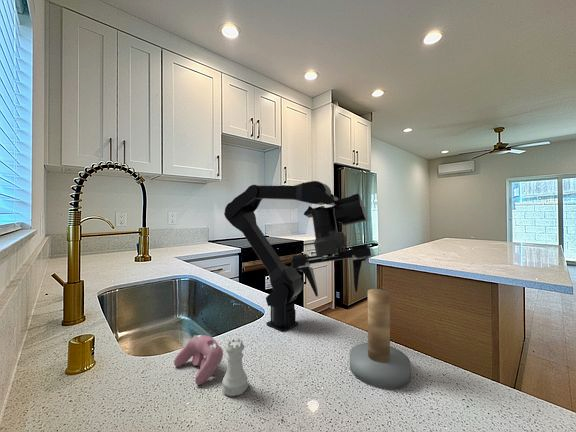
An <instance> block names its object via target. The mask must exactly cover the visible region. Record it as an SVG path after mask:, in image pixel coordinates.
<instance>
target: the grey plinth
mask: <svg viewBox="0 0 576 432" xmlns="http://www.w3.org/2000/svg"><path fill="white" fill-rule="evenodd" d="M411 367H412V363H411V360H410V358H409V357H408V355H407V354H406V353H405V352H403V351H402V350H400V349H397V348H396V347H394V346H391V345H390V361H388V362H385V363H380V362H376V361H373V360H371V359H370V358H369V357H368V342H362V343H359V344H356V345H354V346H353V347H351V349H350V351H349V370H350V371H351V373H352V374H353V376H354V377H355V378H356V379H357V380H359V381H361V382H362V383H365V385H369V386H371V387H374V388H377V389H383V390H398V389H402V388H404V387H406V386H407V385H409V384H410V382H411V379H412V368H411Z"/></svg>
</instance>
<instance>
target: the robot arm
mask: <svg viewBox="0 0 576 432" xmlns="http://www.w3.org/2000/svg"><path fill="white" fill-rule="evenodd" d="M263 200H289V201H290V200H293V201H299V202H303V203H307V204H311V205H319V206H317V207H312V206H310V205H309V206H308V207H307V209H306V210H305V212H303V215H304V216H305V217H307V218H312V225H313V230H314V237H315V240H314V241H313V244H314V250H315V255H309V254H307V253H304V254H303V253H302V254H296V255H292V257H291V258H290V266H288V265H286V264H285V263H284V262H283V261H282V259H281V258H280V256H279V255H278V253H277V252H276V250H275V249H274V247H273V246H272V245H271V243H270V242H269V240H268V239H267V237H266V236H265V235H264V233H263V232H262V230H261V229H260V227H259V225H258V223H257V217H256V214H255V211H256V210H257V209H258V208H259V206H260V204H261V202H262V201H263ZM324 205H329V206H327V207H325V206H324ZM223 214H224V218H225V219H226V220H227V221H228V222H229V224H230V225H232V227H234V228H236V230H238V231H240V232H241V233H242V234H243V235H244V237H245V239H246V240H247V242H248V244H250V246H251V248H252V249H253V251H254V252H255V254H256V255H257V257H258V259H259V260H260V261H261V263H262V264H263V266H264V267H265V269H266V271H267V272H268V274H269V281H270V287H271V288H272V291H271V292H270V293H269V294H268V295H267V296H266V297H265V301H266V304H267V306H269V307H270V320H269V321H267V322H266V323H265V324H266V325H267V326H269V327H271V328H273V329H275V330H278V331H281V332H285V331H288V330H289V329H291V328H293V327H295V326H297V325H299V321H297V320H296V319H297V318H296V309H295V308H296V307H295V302H294V300H296V299H297V298H298V297H297V296H298V295H299V294H300V293H301V292H302V291H303V287H304V286H303V285H304V283H303V279H302V277H303V276H302V275H301V274H300V273H299V272H302V273H303V274H304V276H305V277H306V279H307V281H308V282H309V285H310V287H311V289H312V290H313V294H314V295H315V297H316V298H317V297H319V289H318V285H317V281H316V277H315V272H314V268H313V267H311V265H313V264H319V263H320V264H321V263H326V262H327V263H328V262H334V261H341V260H348V259H352V267H353V268H352V269H353V271H352V272H353V285H354V291H355V293H357V292H358V290H359V289H358V287H359V278H360V276H359V275H360V272H361V267H362V264H365V263H366V262H367V260H368V259H371V257H372V252H371V248H370V246H369V245H368V244H361V245H353V246H351V250H343V251H342V248H345V247H347V243H346V240H345V239H346V238H345V235H344V231H338V226H337V223H338V224H340V223H341V224H342V226H343V227H345V226H349V225H353V224H358V223H363V222H367V221H368V216H367V210H366V207H365V206H364V203H363V200H362V197H361V195H360V193H355V194H352V195H350V196H347V197H344V198H338V197H337V196H335V195H334V194H332V190H331V188H330V187H329V185H327V184H325V183H323V182H321V181H319V180H318V181H317V180H312V181H305V182H302V183H299V184H294V185H258V184H251V185H249V186H248V187H247V188H246V190H245V191H243V192H242V193H240V194H238V195H237V196H236V197H234V198H233V199H232V201H231V202H228V204H226V205H225V208H224V213H223ZM298 271H299V272H298Z"/></svg>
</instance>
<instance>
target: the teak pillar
mask: <svg viewBox="0 0 576 432" xmlns="http://www.w3.org/2000/svg"><path fill="white" fill-rule="evenodd" d="M390 294H391V292H390V291H388V290H386V289H381V288H380V289H379V288H371V289H368V290H367V343H368V357H369V358H370V359H371V360H373V361H376V362H380V363H385V362H388V361H390V346H391V310H390V309H391V304H390V302H391V301H390V299H391V297H390V296H391V295H390Z"/></svg>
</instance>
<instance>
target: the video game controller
mask: <svg viewBox="0 0 576 432" xmlns="http://www.w3.org/2000/svg"><path fill="white" fill-rule="evenodd" d="M223 351H224V350H223V348H222V347H221V345H219V343H218V342H217V341H216V340H215V339H214V338H213V337H211V336H209V335H203V334H199V335H198V334H197V335H193V337H192V338H190V339H189V340H188V342H187V343H186V344H185V346H184V347H183V348H182V349H181V350H180V351H179V352H178V354H177V355H176V357H175V358H174V362H173V364H174V366H175V367H176V368H178V367H182V366H183V365H184V364H186V363H187V362H188V361H189V360H190V359H191V358H192V359H191V363H192V365H193V366H199V367H200V369H199V370H198V372H197V374H196V376H195V379H194V380H195V381H194V382H195V384H196V385H197V386H201V385H203V384H204V383H206V382H207V381H208V380H209V379H210V378H211V377H212V375H213V374H214V372H215V371H216V369H217V367H218V365H220V363H221V362H222V361H223V356H224V352H223Z"/></svg>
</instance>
